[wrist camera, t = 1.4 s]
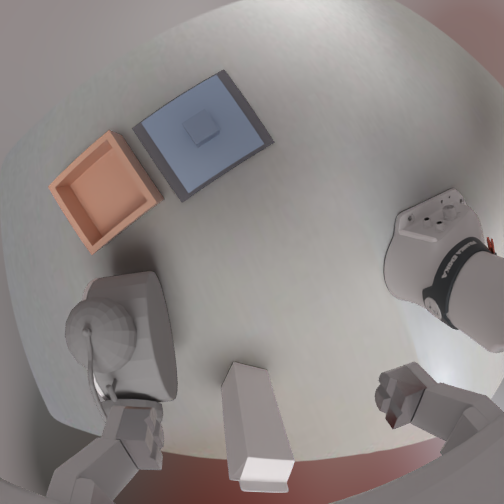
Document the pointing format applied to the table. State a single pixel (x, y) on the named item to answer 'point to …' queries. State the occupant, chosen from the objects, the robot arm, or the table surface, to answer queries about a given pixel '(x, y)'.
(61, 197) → the dish
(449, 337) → the table surface
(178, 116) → the lid
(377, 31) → the table surface
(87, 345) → the alarm clock
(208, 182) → the mat
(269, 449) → the milk
